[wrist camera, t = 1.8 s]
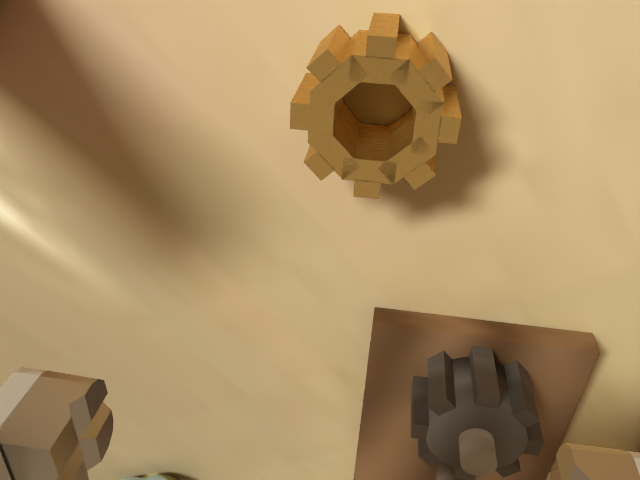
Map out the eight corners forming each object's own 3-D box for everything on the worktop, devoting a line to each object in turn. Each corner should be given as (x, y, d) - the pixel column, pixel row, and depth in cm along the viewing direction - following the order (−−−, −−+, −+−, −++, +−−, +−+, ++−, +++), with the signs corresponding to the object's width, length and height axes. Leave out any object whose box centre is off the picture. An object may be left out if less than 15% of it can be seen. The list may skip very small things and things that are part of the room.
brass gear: (466, 19, 24) (475, 43, 21) (441, 165, 28) (445, 205, 24) (308, 7, 25) (291, 29, 21) (303, 151, 28) (289, 189, 25)
